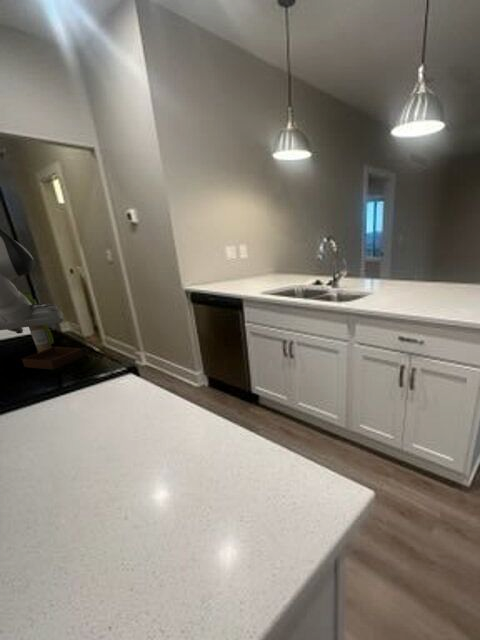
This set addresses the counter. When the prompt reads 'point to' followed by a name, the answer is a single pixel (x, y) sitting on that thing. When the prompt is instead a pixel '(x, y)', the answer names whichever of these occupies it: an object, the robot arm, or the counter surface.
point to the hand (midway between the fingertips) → (36, 329)
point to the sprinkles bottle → (40, 338)
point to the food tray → (53, 358)
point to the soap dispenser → (33, 302)
